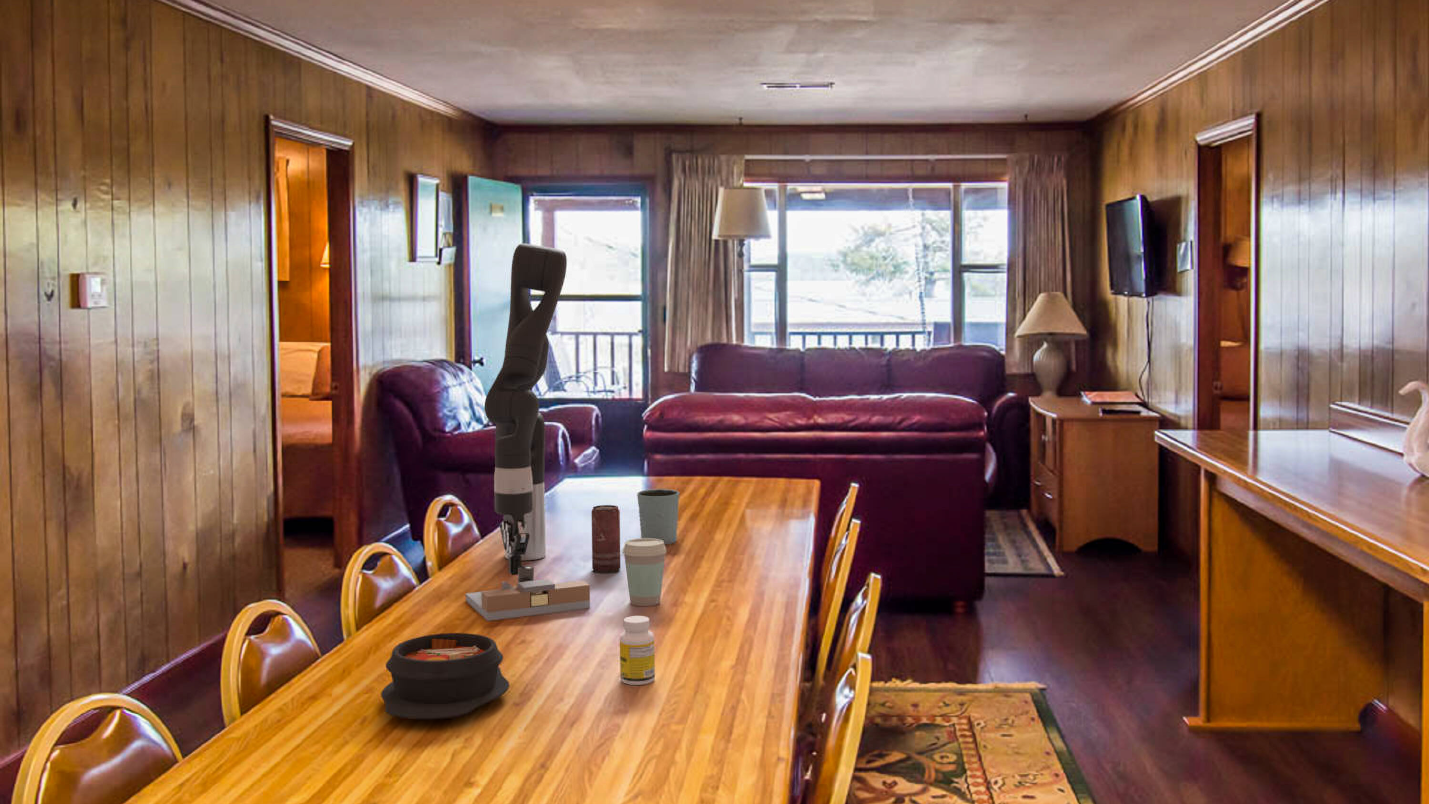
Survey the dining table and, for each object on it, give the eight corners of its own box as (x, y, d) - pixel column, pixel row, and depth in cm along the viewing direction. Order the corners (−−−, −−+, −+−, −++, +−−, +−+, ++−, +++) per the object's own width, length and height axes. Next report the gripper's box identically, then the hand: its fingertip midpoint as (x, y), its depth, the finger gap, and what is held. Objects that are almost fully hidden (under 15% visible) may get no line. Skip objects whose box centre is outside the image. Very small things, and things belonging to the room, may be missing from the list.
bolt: (516, 594, 234) (515, 566, 234) (532, 592, 236) (531, 565, 235) (531, 606, 225) (530, 577, 225) (547, 604, 227) (547, 575, 226)
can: (617, 574, 258) (616, 509, 257) (588, 572, 259) (587, 508, 258) (624, 567, 264) (624, 504, 263) (597, 566, 265) (596, 503, 264)
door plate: (466, 600, 236) (465, 573, 236) (563, 589, 245) (562, 562, 244) (487, 621, 222) (487, 591, 221) (590, 608, 230) (589, 580, 230)
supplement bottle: (620, 675, 190) (619, 614, 189) (654, 674, 190) (653, 613, 190) (620, 686, 185) (619, 624, 184) (655, 685, 185) (655, 623, 184)
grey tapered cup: (682, 537, 296) (681, 489, 295) (676, 545, 286) (676, 496, 285) (641, 536, 297) (640, 488, 296) (634, 545, 287) (634, 495, 286)
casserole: (410, 673, 192) (408, 622, 191) (525, 675, 191) (524, 623, 190) (355, 731, 167) (353, 672, 166) (487, 733, 166) (486, 673, 165)
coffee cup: (673, 599, 237) (673, 539, 236) (657, 609, 229) (656, 547, 228) (633, 595, 240) (632, 536, 239) (616, 606, 232) (615, 544, 231)
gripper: (541, 492, 235) (543, 579, 237) (521, 482, 247) (523, 564, 249) (504, 495, 232) (506, 583, 234) (486, 485, 244) (487, 568, 245)
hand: (515, 573), depth 241 cm, fingers closed
